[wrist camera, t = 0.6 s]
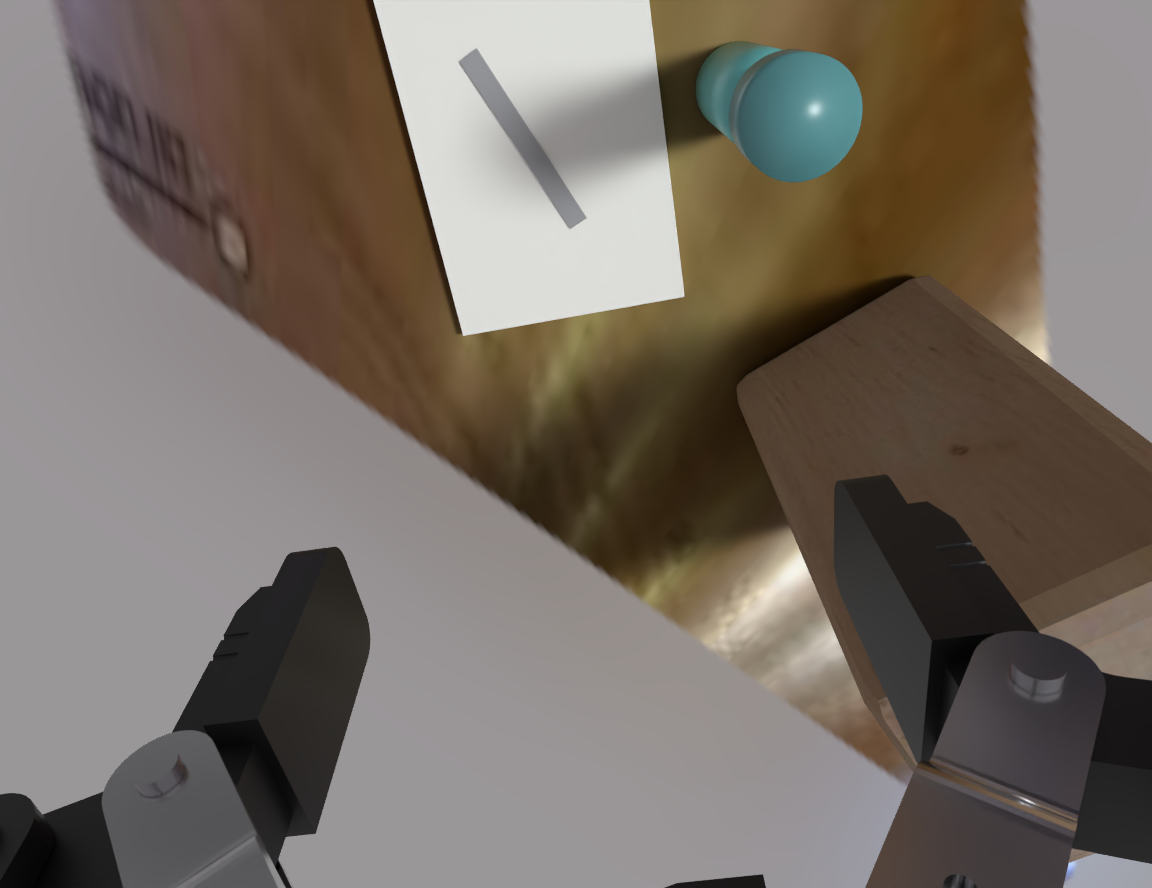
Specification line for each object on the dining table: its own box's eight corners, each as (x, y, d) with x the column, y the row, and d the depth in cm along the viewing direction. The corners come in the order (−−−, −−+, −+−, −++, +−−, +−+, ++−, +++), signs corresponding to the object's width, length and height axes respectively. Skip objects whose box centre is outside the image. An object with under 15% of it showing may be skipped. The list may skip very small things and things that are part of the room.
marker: (688, 47, 30) (736, 66, 22) (777, 30, 30) (861, 41, 21) (697, 140, 32) (745, 191, 23) (781, 124, 32) (862, 170, 23)
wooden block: (925, 259, 35) (1288, 523, 17) (1003, 427, 39) (1362, 777, 21) (723, 378, 37) (860, 710, 20) (817, 523, 41) (999, 904, 24)
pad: (362, -50, 29) (359, -51, 28) (634, -110, 28) (635, -112, 28) (464, 332, 36) (463, 336, 36) (683, 293, 35) (684, 297, 35)
